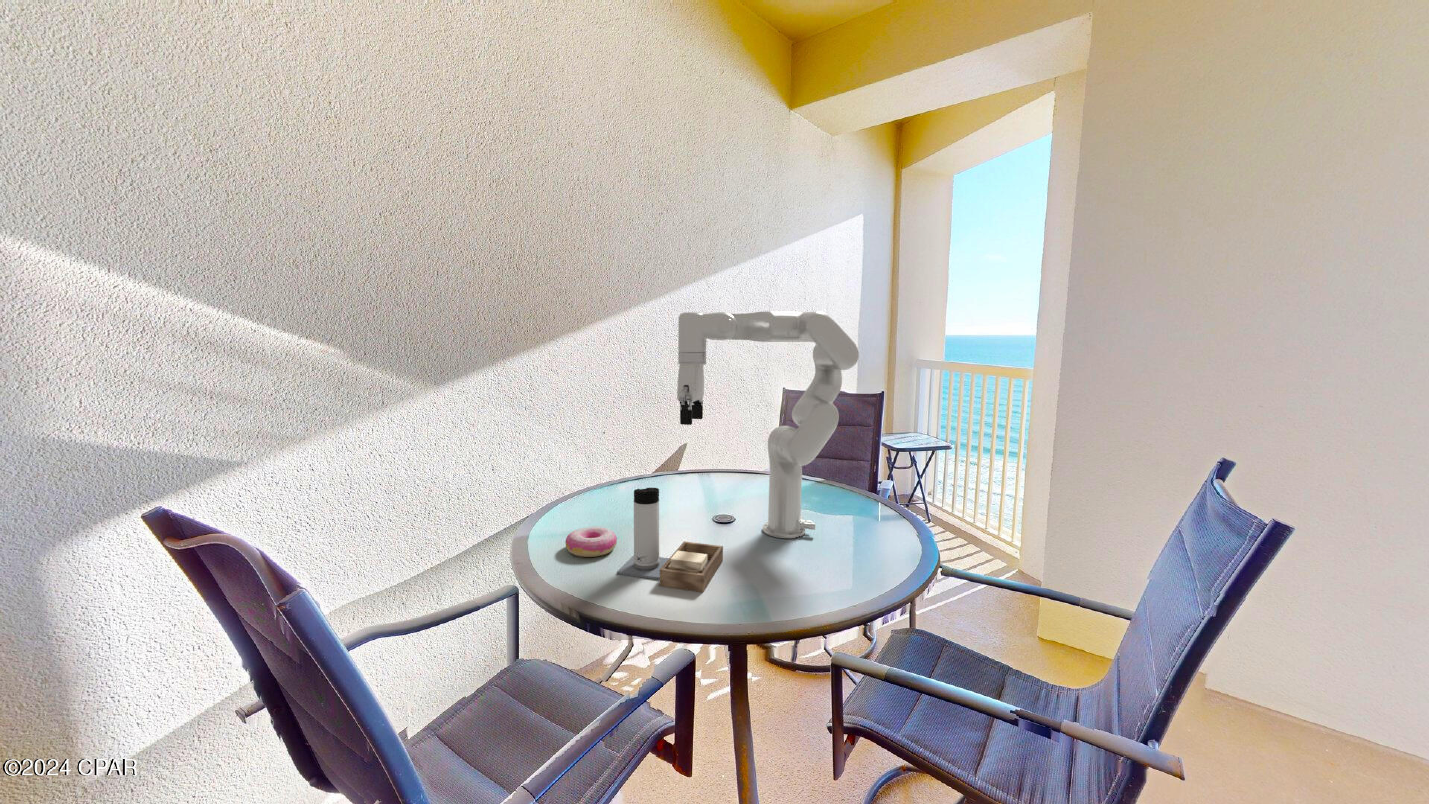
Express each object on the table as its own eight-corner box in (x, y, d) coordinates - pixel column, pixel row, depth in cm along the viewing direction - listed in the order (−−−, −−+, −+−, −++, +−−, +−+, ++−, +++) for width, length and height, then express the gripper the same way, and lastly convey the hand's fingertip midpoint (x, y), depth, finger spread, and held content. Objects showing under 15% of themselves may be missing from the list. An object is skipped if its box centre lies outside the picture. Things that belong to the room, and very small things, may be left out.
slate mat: (674, 561, 138) (674, 559, 138) (659, 579, 127) (659, 577, 127) (635, 556, 141) (635, 553, 141) (616, 573, 130) (616, 571, 130)
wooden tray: (722, 560, 138) (723, 546, 138) (703, 592, 122) (703, 575, 121) (683, 555, 141) (683, 541, 141) (659, 585, 124) (659, 569, 124)
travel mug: (639, 573, 129) (638, 492, 127) (630, 562, 135) (630, 485, 133) (663, 568, 132) (663, 489, 130) (654, 558, 138) (654, 482, 136)
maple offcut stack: (707, 578, 129) (707, 554, 128) (701, 587, 124) (701, 562, 123) (674, 573, 131) (675, 550, 130) (668, 582, 126) (668, 558, 125)
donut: (621, 556, 141) (621, 538, 140) (569, 564, 136) (569, 545, 135) (611, 538, 153) (611, 521, 153) (563, 544, 148) (562, 527, 148)
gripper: (688, 357, 153) (688, 416, 156) (667, 360, 137) (667, 426, 139) (714, 357, 152) (713, 417, 154) (696, 360, 135) (695, 427, 137)
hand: (691, 421), depth 146 cm, fingers open, 9 cm apart
